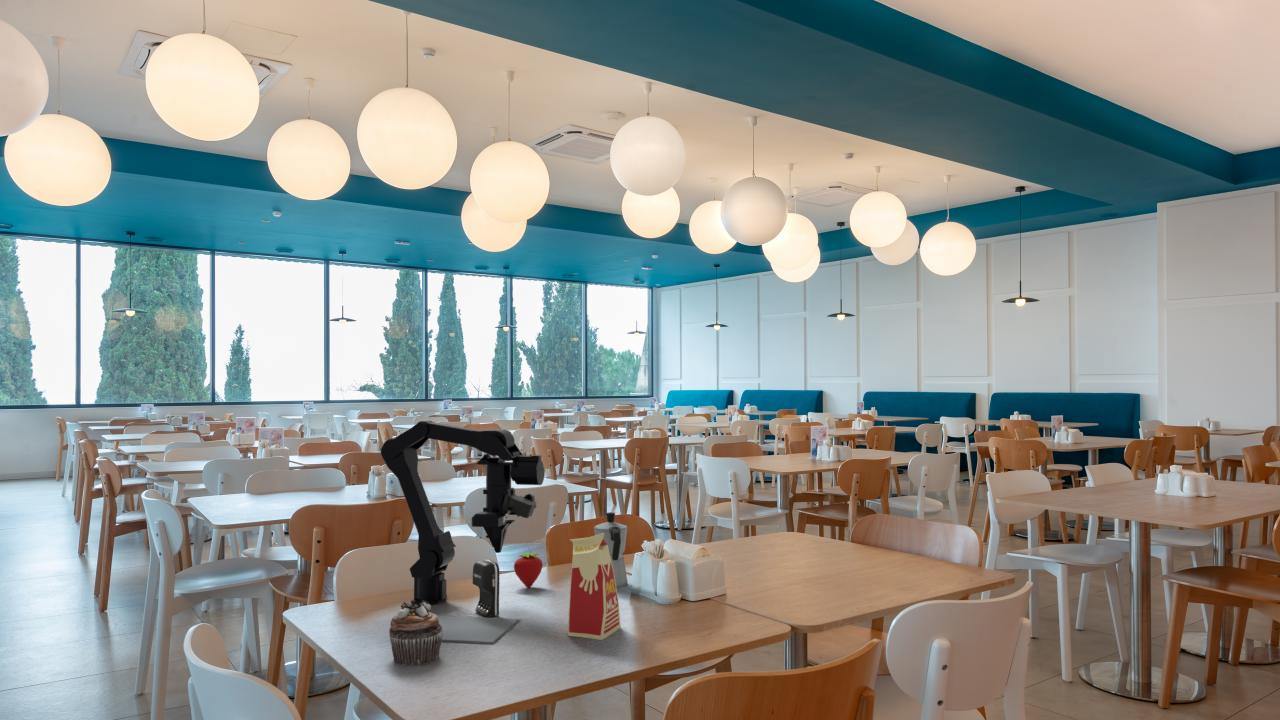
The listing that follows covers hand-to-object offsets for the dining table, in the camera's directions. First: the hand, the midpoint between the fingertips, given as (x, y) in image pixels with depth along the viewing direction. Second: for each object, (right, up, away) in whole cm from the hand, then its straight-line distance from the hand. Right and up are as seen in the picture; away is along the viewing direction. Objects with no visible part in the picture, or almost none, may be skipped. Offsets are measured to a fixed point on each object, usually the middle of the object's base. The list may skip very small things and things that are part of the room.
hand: (498, 552), depth 185 cm
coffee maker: (+25, -13, +18) cm, 34 cm away
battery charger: (-1, -12, -9) cm, 15 cm away
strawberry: (+5, -13, +15) cm, 21 cm away
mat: (-3, -11, -21) cm, 24 cm away
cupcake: (-8, -10, -38) cm, 40 cm away
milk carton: (+23, -11, -22) cm, 34 cm away
